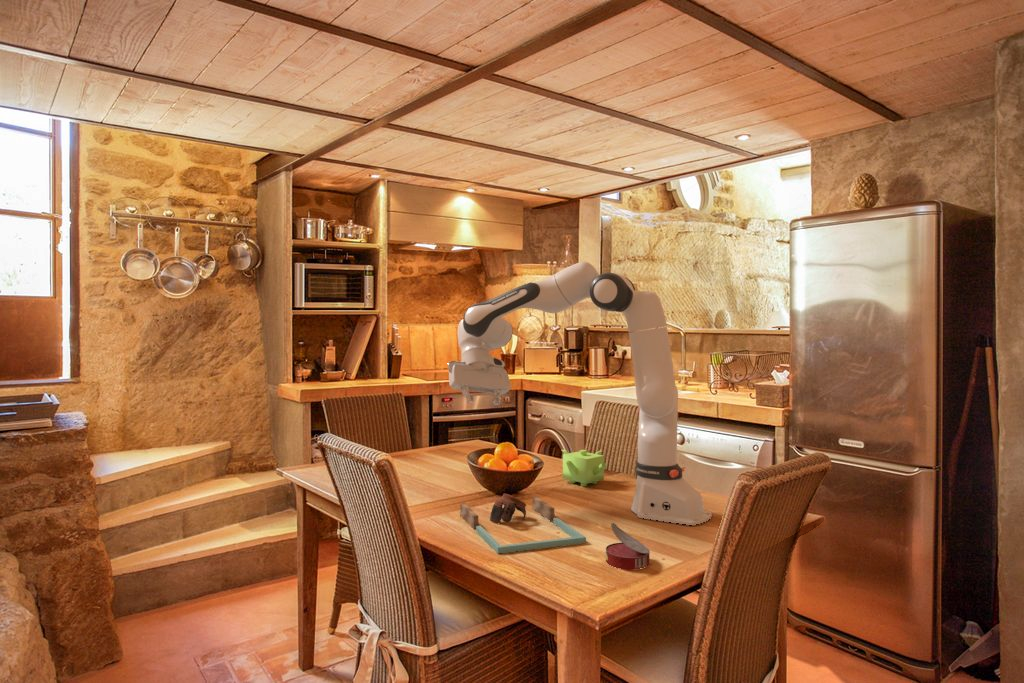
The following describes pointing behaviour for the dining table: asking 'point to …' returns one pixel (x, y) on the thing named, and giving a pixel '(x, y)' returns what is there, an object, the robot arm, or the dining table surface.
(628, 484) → the dining table surface
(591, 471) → the green knobbed block
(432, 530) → the dining table surface
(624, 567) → the canned food
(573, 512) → the dining table surface
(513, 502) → the dark brown curved piece
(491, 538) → the teal frame
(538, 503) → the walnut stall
